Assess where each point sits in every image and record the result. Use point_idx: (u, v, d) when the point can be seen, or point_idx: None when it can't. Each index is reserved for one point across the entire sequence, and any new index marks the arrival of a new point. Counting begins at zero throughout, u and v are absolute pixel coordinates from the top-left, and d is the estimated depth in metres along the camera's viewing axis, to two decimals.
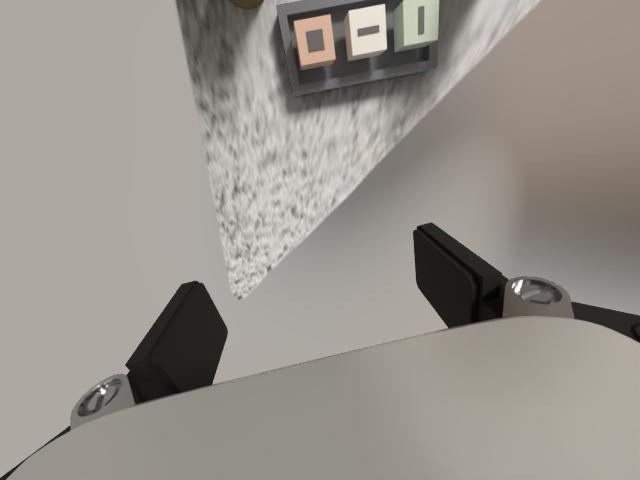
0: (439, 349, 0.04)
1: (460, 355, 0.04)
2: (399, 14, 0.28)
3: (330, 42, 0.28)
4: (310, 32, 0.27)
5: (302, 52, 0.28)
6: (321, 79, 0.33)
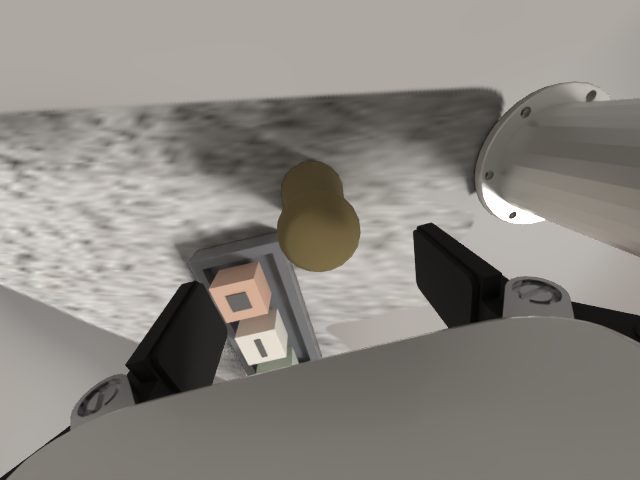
0: (439, 349, 0.04)
1: (460, 355, 0.04)
2: (284, 363, 0.27)
3: (241, 316, 0.23)
4: (246, 296, 0.22)
5: (223, 289, 0.21)
6: None
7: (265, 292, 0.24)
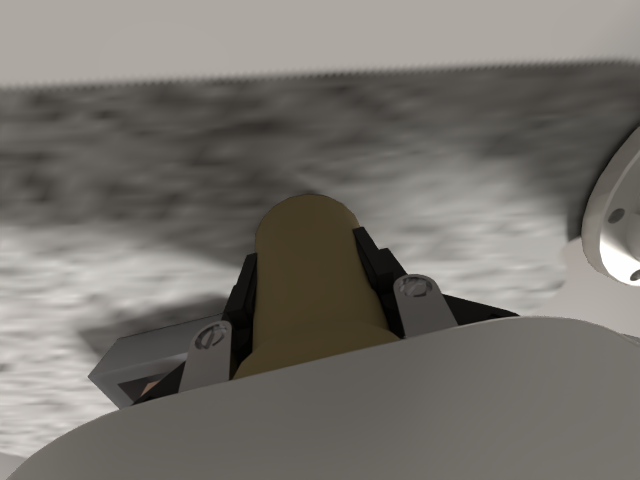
0: (439, 349, 0.04)
1: (460, 355, 0.04)
2: None
3: None
4: None
5: None
6: None
7: None
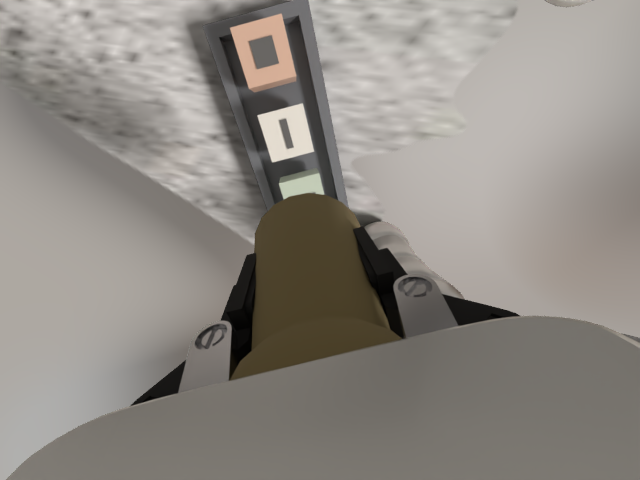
0: (440, 349, 0.04)
1: (460, 355, 0.04)
2: (309, 173, 0.25)
3: (266, 78, 0.20)
4: (272, 44, 0.19)
5: (247, 29, 0.19)
6: (239, 80, 0.24)
7: None
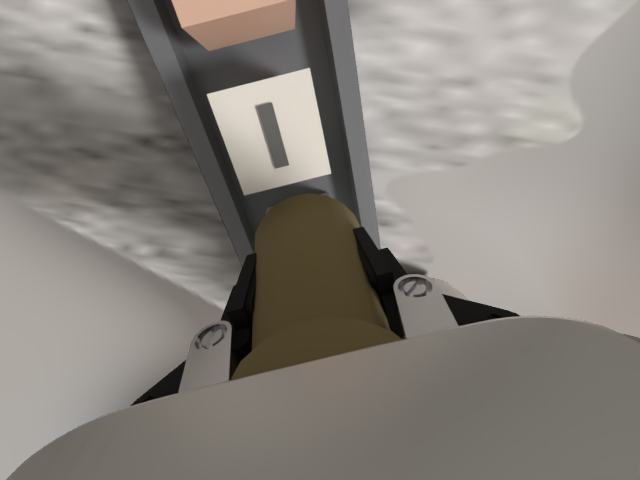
0: (439, 349, 0.04)
1: (460, 355, 0.04)
2: None
3: (222, 2, 0.08)
4: None
5: None
6: (182, 30, 0.12)
7: None
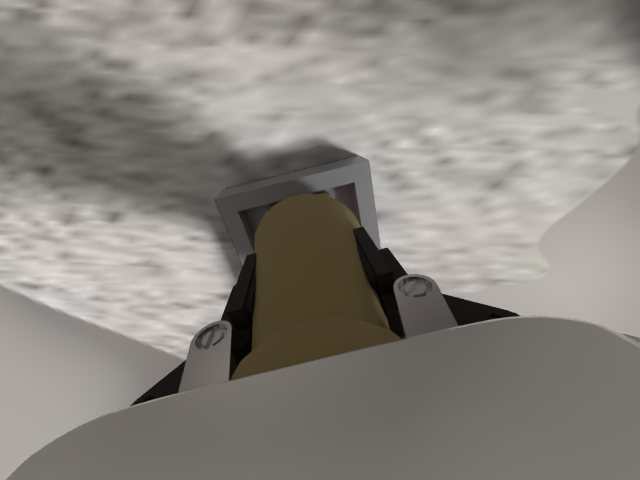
0: (439, 349, 0.04)
1: (460, 355, 0.04)
2: None
3: None
4: None
5: None
6: None
7: None
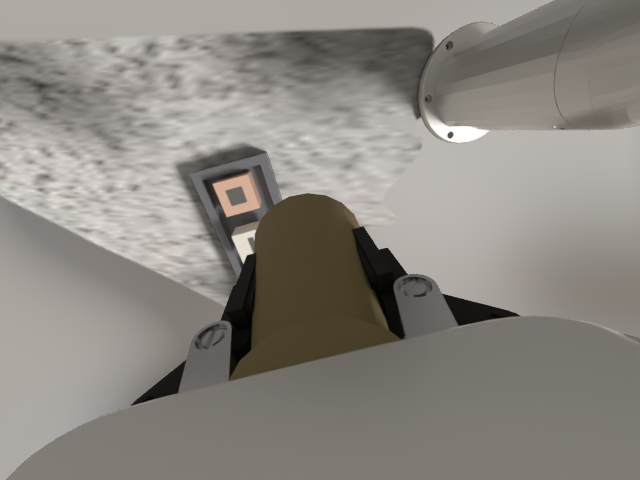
0: (439, 349, 0.04)
1: (460, 355, 0.04)
2: None
3: (238, 210, 0.29)
4: (242, 191, 0.28)
5: (224, 184, 0.28)
6: (218, 201, 0.31)
7: (256, 194, 0.30)
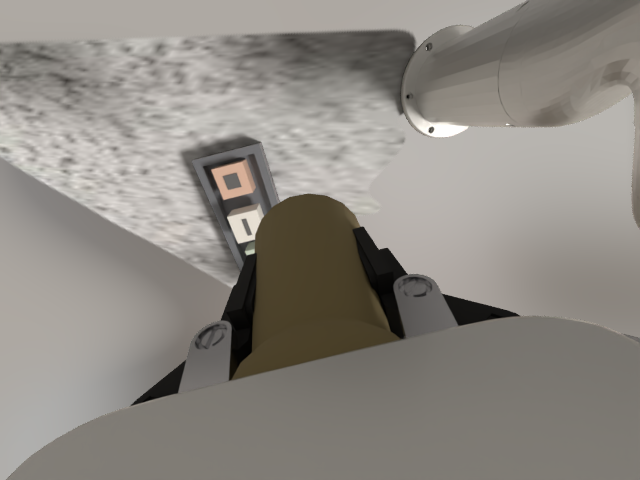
0: (439, 349, 0.04)
1: (460, 355, 0.04)
2: None
3: (234, 194, 0.33)
4: (237, 177, 0.32)
5: (221, 170, 0.31)
6: (217, 186, 0.35)
7: (251, 180, 0.33)
